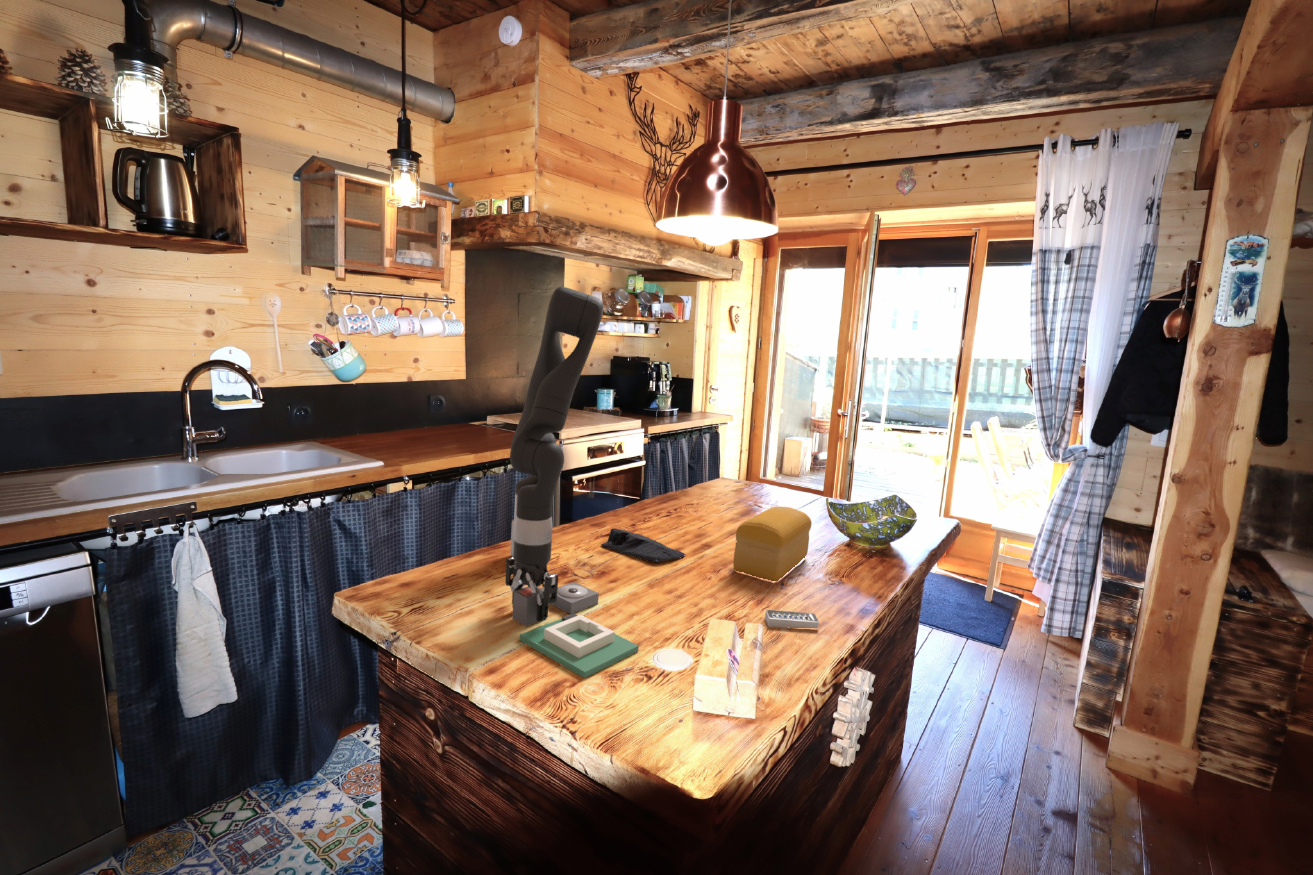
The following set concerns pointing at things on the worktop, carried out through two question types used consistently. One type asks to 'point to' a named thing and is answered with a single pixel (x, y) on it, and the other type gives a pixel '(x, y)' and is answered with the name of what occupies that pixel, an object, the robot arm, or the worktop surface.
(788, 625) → the multiport hub
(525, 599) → the keyed plug
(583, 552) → the worktop surface
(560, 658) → the circuit board
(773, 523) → the bread
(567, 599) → the grey square domed block
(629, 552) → the dark slate chunk
